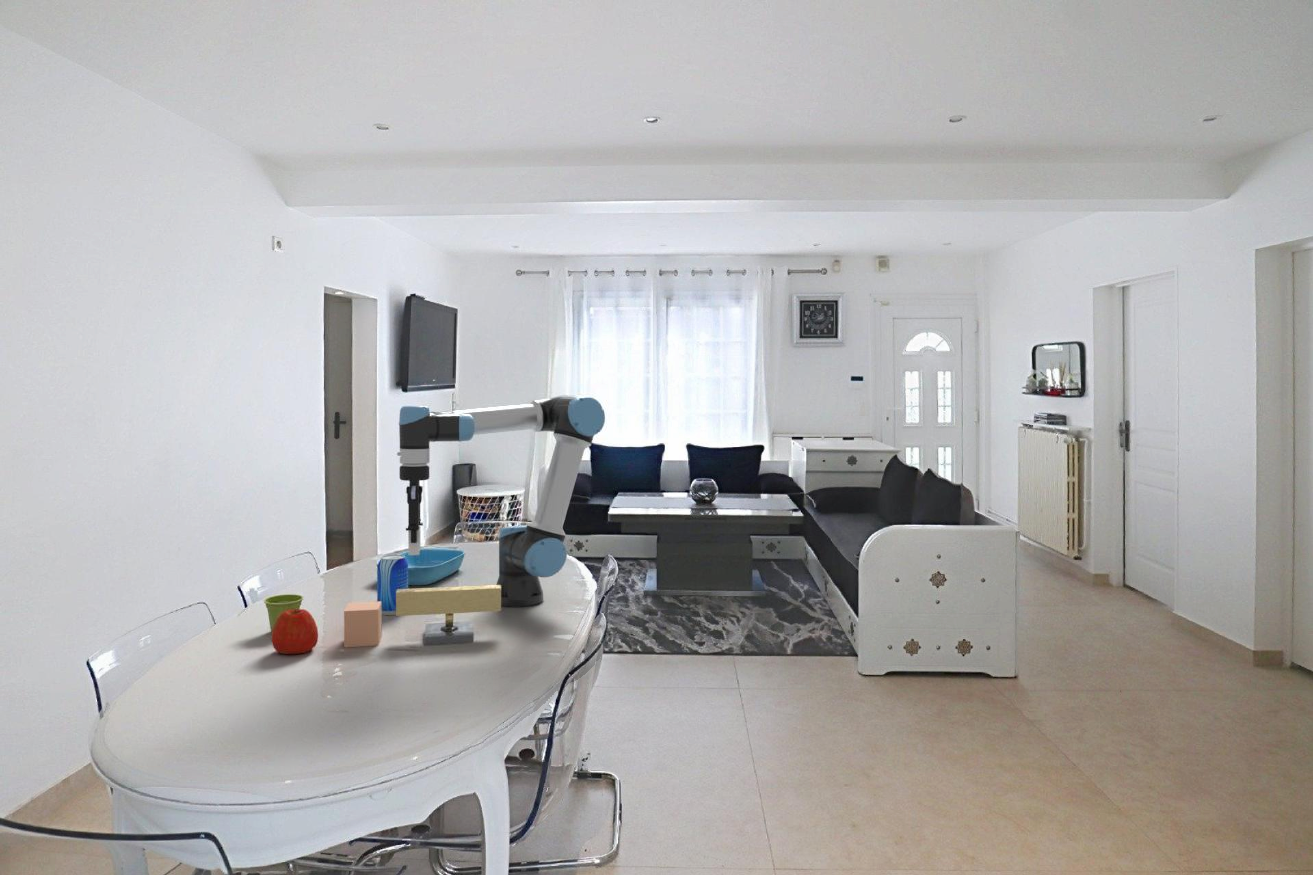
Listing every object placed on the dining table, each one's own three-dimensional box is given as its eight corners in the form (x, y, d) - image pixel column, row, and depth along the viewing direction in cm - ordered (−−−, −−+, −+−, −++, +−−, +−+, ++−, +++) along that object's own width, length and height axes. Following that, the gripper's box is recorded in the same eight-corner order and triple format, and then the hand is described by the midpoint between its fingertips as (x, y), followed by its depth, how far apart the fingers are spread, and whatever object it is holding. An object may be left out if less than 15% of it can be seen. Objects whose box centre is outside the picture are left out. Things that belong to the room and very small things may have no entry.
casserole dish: (416, 564, 293) (416, 545, 293) (473, 567, 290) (473, 547, 289) (364, 587, 257) (364, 565, 256) (430, 591, 253) (430, 569, 253)
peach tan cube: (381, 635, 205) (381, 601, 205) (378, 645, 197) (378, 609, 197) (348, 637, 203) (348, 602, 203) (344, 647, 195) (344, 611, 195)
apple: (272, 660, 185) (271, 616, 184) (271, 648, 194) (270, 605, 193) (319, 654, 190) (319, 611, 189) (316, 642, 199) (316, 601, 198)
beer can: (398, 616, 223) (398, 560, 222) (371, 614, 224) (371, 558, 224) (413, 609, 231) (413, 554, 230) (387, 607, 233) (387, 553, 232)
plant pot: (311, 628, 211) (311, 596, 210) (284, 638, 202) (284, 604, 201) (283, 624, 214) (283, 592, 213) (255, 634, 205) (255, 601, 204)
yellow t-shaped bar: (500, 621, 210) (500, 584, 210) (500, 625, 207) (501, 588, 206) (397, 627, 204) (397, 589, 203) (396, 631, 200) (396, 592, 200)
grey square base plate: (472, 628, 213) (472, 620, 213) (473, 641, 201) (473, 633, 201) (426, 631, 210) (426, 622, 210) (424, 644, 198) (424, 636, 198)
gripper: (401, 462, 216) (402, 546, 217) (396, 467, 199) (397, 560, 200) (430, 461, 218) (430, 545, 219) (428, 467, 200) (428, 559, 202)
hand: (414, 552), depth 209 cm, fingers open, 5 cm apart
